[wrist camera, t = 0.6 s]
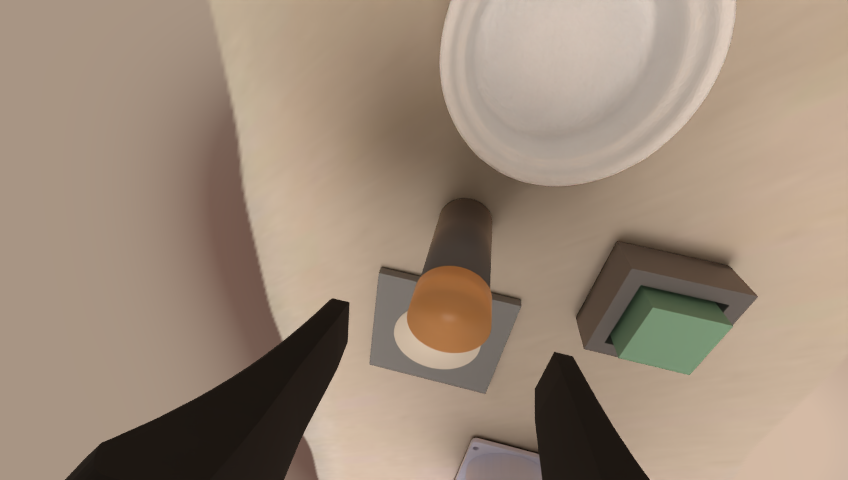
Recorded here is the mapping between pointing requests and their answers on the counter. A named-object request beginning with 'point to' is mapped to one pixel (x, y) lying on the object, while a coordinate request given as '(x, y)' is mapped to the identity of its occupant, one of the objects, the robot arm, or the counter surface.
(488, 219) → the cylinder
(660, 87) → the ramekin
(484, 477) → the robot arm
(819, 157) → the counter surface
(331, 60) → the counter surface
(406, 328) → the grey square plate
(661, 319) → the button
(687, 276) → the button housing
